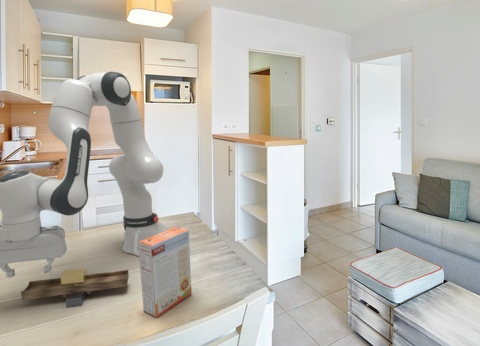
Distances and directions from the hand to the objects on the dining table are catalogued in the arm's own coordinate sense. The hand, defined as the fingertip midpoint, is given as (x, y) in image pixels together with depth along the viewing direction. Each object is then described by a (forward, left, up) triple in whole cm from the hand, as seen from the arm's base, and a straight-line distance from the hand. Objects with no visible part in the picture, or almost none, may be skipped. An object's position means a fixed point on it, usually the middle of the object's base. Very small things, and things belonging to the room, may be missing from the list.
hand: (29, 274), depth 88 cm
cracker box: (-39, +11, -9) cm, 41 cm away
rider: (-12, +1, -5) cm, 13 cm away
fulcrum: (-13, 0, -9) cm, 15 cm away
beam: (-13, 0, -6) cm, 14 cm away
